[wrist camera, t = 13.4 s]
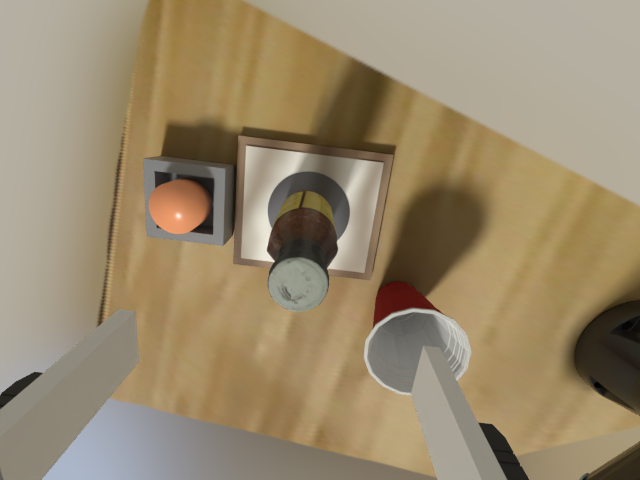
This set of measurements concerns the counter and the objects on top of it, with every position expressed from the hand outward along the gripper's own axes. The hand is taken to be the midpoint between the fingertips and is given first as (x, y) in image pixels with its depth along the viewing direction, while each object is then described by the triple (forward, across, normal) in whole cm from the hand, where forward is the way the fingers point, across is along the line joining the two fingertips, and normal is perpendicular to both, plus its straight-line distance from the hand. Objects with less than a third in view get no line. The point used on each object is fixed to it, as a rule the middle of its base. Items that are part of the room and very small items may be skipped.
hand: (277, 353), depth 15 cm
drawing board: (+28, 0, 0) cm, 28 cm away
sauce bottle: (+27, 0, 0) cm, 27 cm away
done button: (+25, +14, 0) cm, 29 cm away
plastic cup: (+28, -13, +11) cm, 33 cm away
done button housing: (+28, +14, 0) cm, 31 cm away
